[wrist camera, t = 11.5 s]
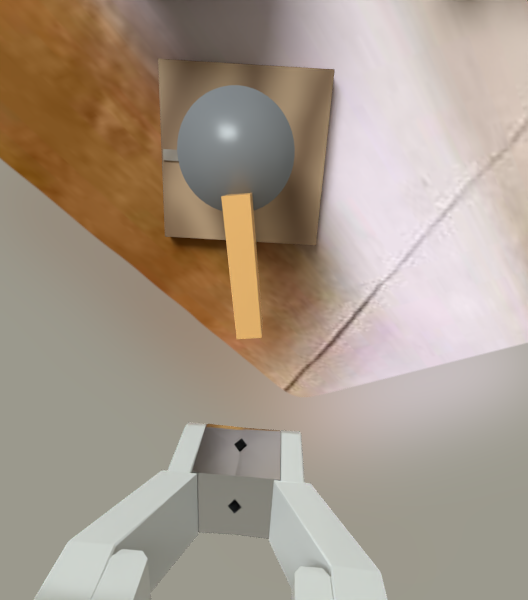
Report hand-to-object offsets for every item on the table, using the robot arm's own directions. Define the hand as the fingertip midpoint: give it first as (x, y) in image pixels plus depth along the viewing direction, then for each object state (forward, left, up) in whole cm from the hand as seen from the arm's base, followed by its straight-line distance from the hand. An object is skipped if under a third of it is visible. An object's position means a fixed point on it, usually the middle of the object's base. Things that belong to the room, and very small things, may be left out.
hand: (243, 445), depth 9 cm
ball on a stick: (+2, -4, -24) cm, 24 cm away
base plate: (+2, -9, -30) cm, 31 cm away
